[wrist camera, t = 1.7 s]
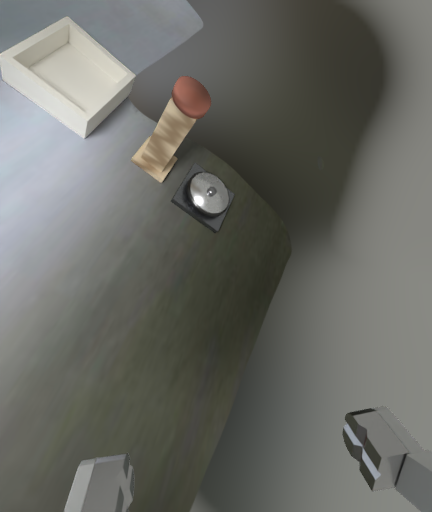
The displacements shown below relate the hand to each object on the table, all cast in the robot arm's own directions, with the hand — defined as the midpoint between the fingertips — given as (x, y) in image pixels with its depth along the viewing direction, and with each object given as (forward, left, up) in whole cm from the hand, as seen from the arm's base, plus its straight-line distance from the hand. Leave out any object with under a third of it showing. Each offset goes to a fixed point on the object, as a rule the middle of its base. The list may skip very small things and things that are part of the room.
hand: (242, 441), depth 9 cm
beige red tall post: (-10, +32, -29) cm, 45 cm away
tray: (-26, +34, -29) cm, 52 cm away
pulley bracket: (+1, +32, -29) cm, 44 cm away
